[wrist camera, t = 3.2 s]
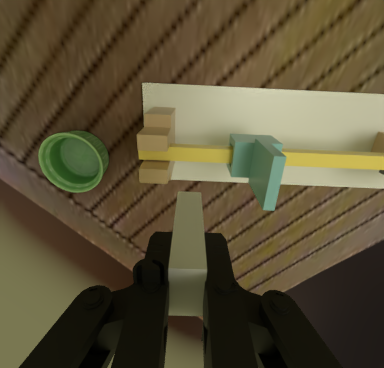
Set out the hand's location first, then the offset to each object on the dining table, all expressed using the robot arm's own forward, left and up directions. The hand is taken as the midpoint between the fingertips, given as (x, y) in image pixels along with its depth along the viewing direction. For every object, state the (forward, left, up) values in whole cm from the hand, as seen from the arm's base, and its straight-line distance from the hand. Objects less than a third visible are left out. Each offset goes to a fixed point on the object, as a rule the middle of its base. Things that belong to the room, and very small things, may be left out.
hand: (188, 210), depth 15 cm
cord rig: (0, +14, -21) cm, 26 cm away
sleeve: (0, +7, -14) cm, 16 cm away
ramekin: (+4, -17, -22) cm, 28 cm away
